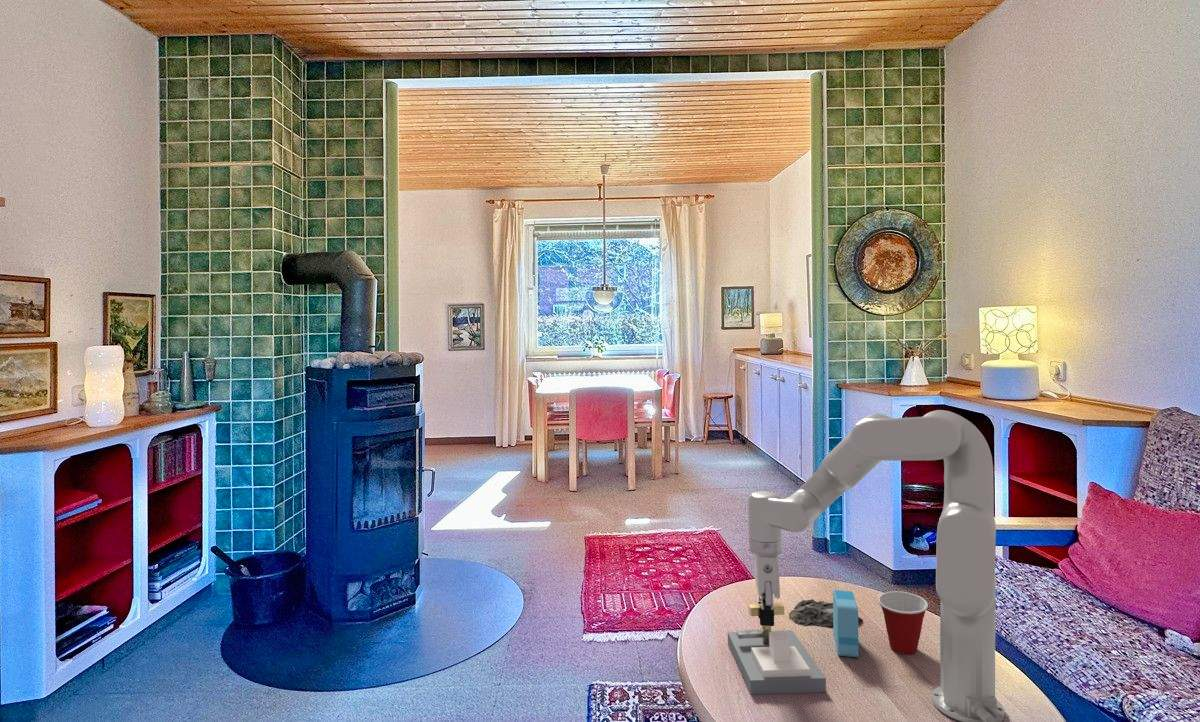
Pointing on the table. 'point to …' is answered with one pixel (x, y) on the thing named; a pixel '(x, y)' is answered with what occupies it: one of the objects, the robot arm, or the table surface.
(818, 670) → the plate
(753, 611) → the tan t-shaped piece
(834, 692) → the table surface
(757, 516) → the robot arm
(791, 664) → the lid
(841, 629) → the data package
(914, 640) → the plastic cup
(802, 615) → the geode
